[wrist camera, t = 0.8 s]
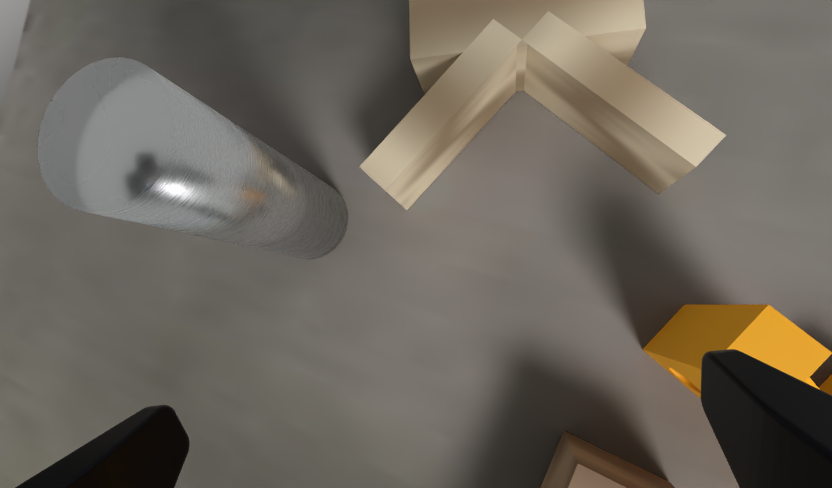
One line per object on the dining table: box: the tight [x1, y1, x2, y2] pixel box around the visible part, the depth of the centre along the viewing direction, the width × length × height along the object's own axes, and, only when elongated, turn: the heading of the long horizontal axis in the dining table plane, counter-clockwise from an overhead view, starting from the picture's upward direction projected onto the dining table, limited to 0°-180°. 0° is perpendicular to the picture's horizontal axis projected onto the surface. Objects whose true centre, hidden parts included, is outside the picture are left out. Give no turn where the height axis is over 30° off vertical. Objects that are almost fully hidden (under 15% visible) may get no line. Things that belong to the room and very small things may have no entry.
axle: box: [37, 57, 348, 259], centre depth 17 cm, size 4×4×12 cm
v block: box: [360, 0, 726, 210], centre depth 19 cm, size 10×13×4 cm
